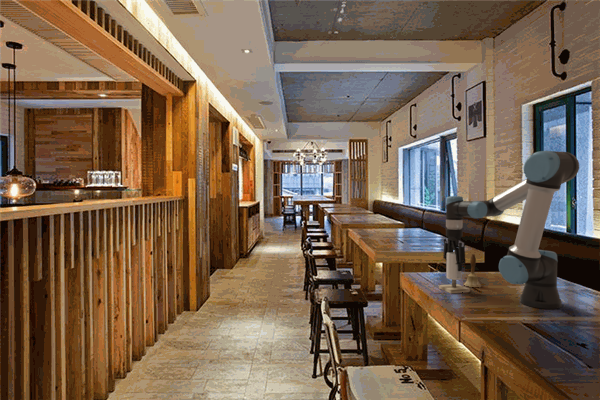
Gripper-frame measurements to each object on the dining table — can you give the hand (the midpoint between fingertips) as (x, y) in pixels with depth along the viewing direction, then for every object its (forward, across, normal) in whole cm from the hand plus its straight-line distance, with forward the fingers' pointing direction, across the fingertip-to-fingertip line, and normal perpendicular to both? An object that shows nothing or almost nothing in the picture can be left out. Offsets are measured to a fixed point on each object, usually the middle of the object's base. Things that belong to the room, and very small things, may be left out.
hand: (453, 275), depth 198 cm
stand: (+7, 0, 0) cm, 7 cm away
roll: (+1, 0, 0) cm, 1 cm away
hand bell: (+7, +5, -14) cm, 16 cm away
